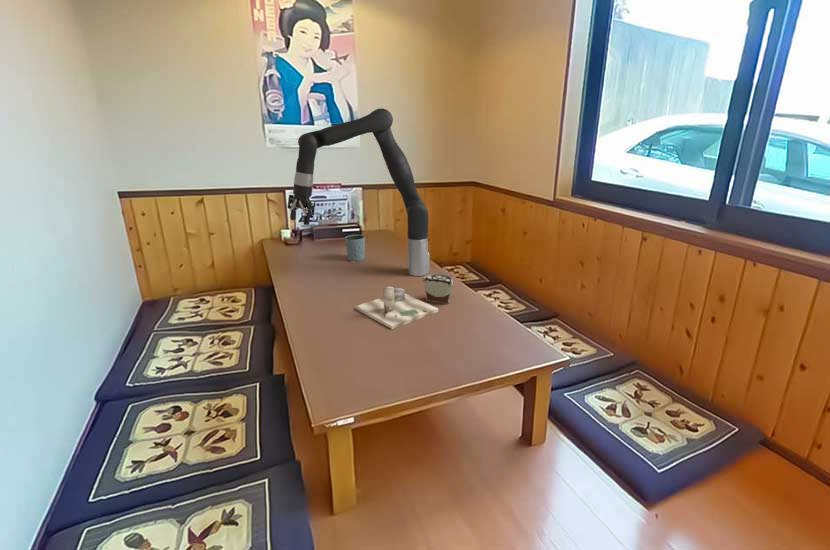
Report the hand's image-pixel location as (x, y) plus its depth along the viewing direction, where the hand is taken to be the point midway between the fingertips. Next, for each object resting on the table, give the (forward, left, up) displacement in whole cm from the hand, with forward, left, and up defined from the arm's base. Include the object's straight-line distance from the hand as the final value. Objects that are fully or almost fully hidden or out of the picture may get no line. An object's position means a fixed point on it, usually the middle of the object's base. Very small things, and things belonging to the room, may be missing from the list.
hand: (299, 222), depth 186 cm
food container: (-33, +52, -28) cm, 68 cm away
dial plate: (-13, +49, -28) cm, 58 cm away
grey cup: (-37, -16, -28) cm, 49 cm away
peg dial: (-13, +46, -27) cm, 55 cm away
